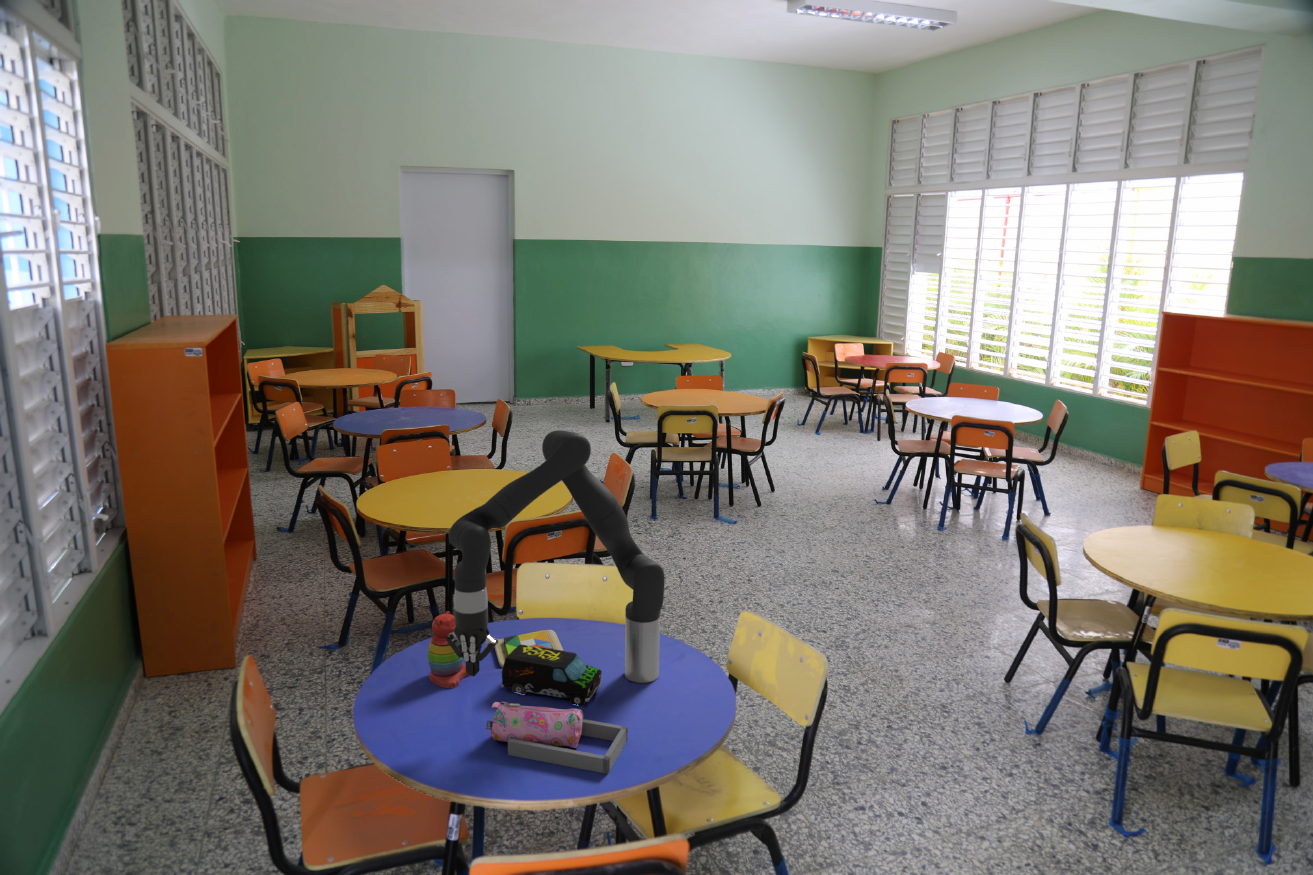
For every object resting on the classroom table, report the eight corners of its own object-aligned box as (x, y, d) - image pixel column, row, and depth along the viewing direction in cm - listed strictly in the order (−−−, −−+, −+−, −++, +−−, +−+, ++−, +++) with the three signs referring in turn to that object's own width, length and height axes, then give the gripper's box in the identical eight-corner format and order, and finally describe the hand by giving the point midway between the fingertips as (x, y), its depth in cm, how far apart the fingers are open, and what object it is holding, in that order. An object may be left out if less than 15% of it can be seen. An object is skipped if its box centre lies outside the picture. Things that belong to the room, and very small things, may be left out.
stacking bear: (453, 689, 221) (451, 626, 217) (419, 683, 224) (417, 620, 220) (475, 671, 231) (473, 609, 227) (442, 664, 234) (440, 604, 230)
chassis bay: (533, 723, 206) (532, 710, 205) (627, 740, 199) (627, 726, 198) (507, 754, 193) (507, 740, 192) (608, 773, 186) (608, 759, 186)
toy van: (588, 709, 213) (588, 672, 211) (499, 692, 220) (498, 657, 218) (603, 688, 223) (603, 653, 221) (517, 673, 230) (517, 639, 228)
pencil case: (486, 747, 196) (485, 711, 194) (499, 726, 204) (498, 691, 203) (576, 757, 192) (576, 721, 190) (586, 735, 201) (586, 701, 199)
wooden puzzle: (492, 642, 249) (491, 631, 248) (555, 635, 254) (555, 624, 253) (499, 670, 232) (499, 658, 232) (567, 661, 238) (567, 650, 237)
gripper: (504, 603, 197) (505, 671, 201) (453, 595, 201) (455, 663, 205) (489, 615, 190) (490, 686, 194) (437, 607, 194) (439, 677, 197)
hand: (472, 674), depth 199 cm, fingers closed
